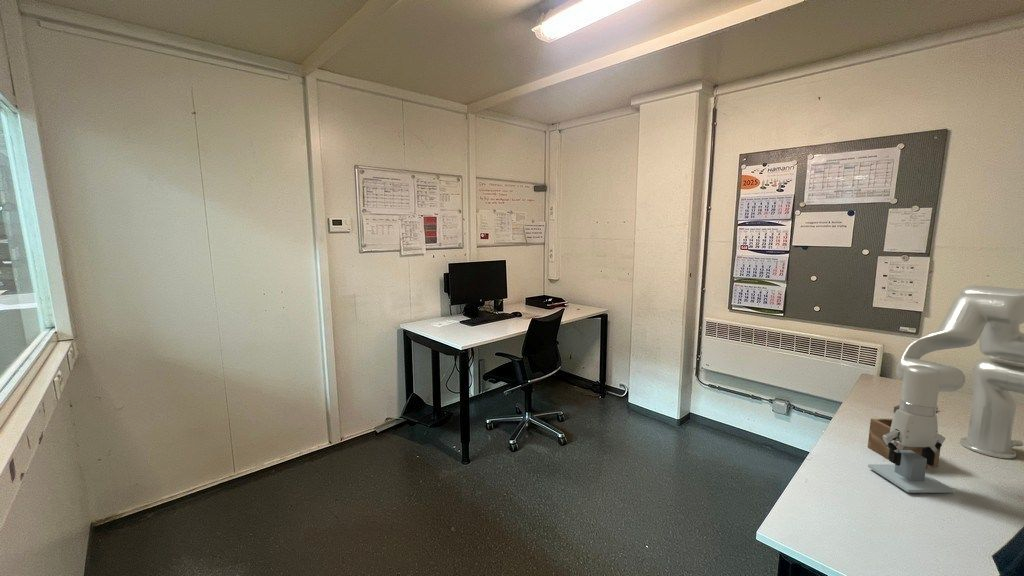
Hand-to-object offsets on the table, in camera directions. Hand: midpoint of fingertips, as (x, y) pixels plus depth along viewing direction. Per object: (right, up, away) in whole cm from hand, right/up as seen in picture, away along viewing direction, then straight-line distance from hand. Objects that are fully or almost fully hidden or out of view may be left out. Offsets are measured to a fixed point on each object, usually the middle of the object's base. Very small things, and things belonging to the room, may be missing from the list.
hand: (910, 463), depth 121 cm
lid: (0, -6, +1) cm, 6 cm away
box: (+11, -4, +14) cm, 19 cm away
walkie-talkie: (+51, -1, +49) cm, 71 cm away
